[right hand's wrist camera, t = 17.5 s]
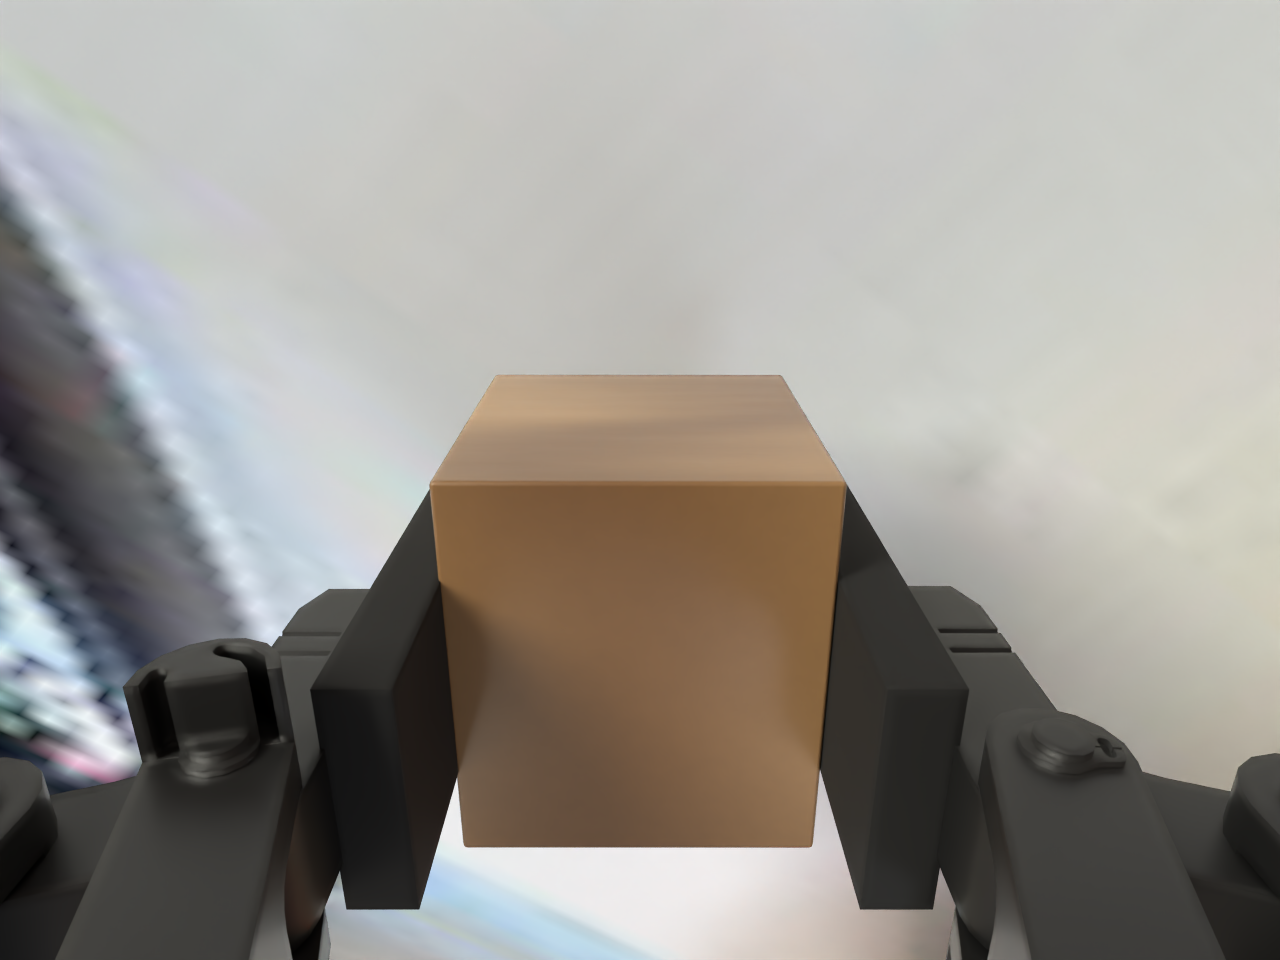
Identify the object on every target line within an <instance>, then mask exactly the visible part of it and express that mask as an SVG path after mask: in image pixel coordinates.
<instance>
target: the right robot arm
mask: <svg viewBox="0 0 1280 960" xmlns="http://www.w3.org/2000/svg"><path fill="white" fill-rule="evenodd" d="M282 633H283V634H282V636H279V637H278V639H277V640H276V641H275V643H274V644H273V646H272V647H271V646H269V645H268V644H267V643H263V642H259V641H255V640H251V639H246V638H238V639H216V640H211V641H206V642H201V643H196V644H191V645H188V646H185V647H183V648H180V649H177V650H175V651H172V652H170V653H167V654H164V655H162V656H160V657H158V658H157V659H155V660H153V661H152V662H150V663H149V664H147V665H145V666H144V667H142V668H141V669H139V670H137V672H136V673H135V674H134V675H133V676H132V677H131V678H130V680H129V681H128V682H127V683H126V684H125V685H124V686H123V690H124V694H125V697H126V701H127V705H128V709H129V713H130V717H131V720H132V724H133V728H134V732H135V736H136V740H137V743H138V747H139V751H140V755H141V759H142V765H141V767H140V769H139V772H138V774H137V776H134V777H131V778H127V779H123V780H120V781H116V782H111V783H107V784H102V785H97V786H92V787H88V788H83V789H78V790H73V791H68V792H64V793H59V794H54V795H49V792H48V789H47V786H46V783H45V779H44V776H43V773H42V771H41V770H39V769H38V768H37V767H36V766H35V765H33V764H32V763H31V762H30V761H26V760H20V759H13V758H7V757H3V758H0V960H329V955H330V946H331V943H330V936H329V929H328V923H327V917H326V912H325V905H326V903H327V901H328V898H329V896H330V893H331V891H332V888H333V886H334V883H335V881H336V879H337V876H338V874H339V871H340V873H341V879H342V885H343V891H344V897H345V903H346V909H419V908H420V905H421V901H422V898H423V894H424V891H425V887H426V884H427V880H428V877H429V873H430V870H431V866H432V863H433V859H434V856H435V852H436V849H437V845H438V842H439V838H440V835H441V831H442V828H443V824H444V821H445V817H446V814H447V810H448V807H449V803H450V800H451V796H452V793H453V789H454V786H455V782H456V779H457V775H458V763H457V753H456V742H455V732H454V721H453V711H452V700H451V690H450V679H449V669H448V658H447V648H446V637H445V627H444V616H443V606H442V595H441V585H440V581H439V580H438V569H437V559H436V548H435V538H434V527H433V517H432V506H431V496H430V490H429V491H428V493H427V495H426V496H425V498H424V500H423V501H422V503H421V505H420V506H419V508H418V510H417V511H416V513H415V515H414V516H413V518H412V520H411V521H410V523H409V525H408V526H407V528H406V530H405V531H404V533H403V535H402V536H401V538H400V540H399V541H398V543H397V545H396V546H395V548H394V550H393V551H392V553H391V555H390V556H389V558H388V560H387V561H386V563H385V565H384V566H383V568H382V570H381V571H380V573H379V575H378V576H377V578H376V580H375V581H374V583H373V585H372V586H371V588H370V589H328V590H327V591H325V592H324V593H322V594H321V595H319V596H318V597H316V598H315V599H313V600H312V601H310V602H309V603H307V604H306V605H304V606H303V607H301V608H300V609H299V610H298V611H297V612H296V614H295V615H294V617H293V618H292V619H291V621H290V622H289V623H288V625H287V626H286V628H285V629H284V630H283V632H282ZM820 770H821V774H822V777H823V781H824V784H825V788H826V791H827V795H828V798H829V802H830V805H831V809H832V812H833V816H834V819H835V823H836V826H837V830H838V833H839V837H840V840H841V844H842V847H843V851H844V854H845V858H846V861H847V865H848V868H849V872H850V875H851V879H852V882H853V886H854V889H855V893H856V896H857V900H858V903H859V907H860V909H933V906H934V900H935V894H936V887H937V881H938V875H939V869H940V868H941V871H942V873H943V876H944V878H945V881H946V883H947V885H948V888H949V890H950V893H951V895H952V898H953V900H954V902H955V905H956V906H955V912H954V917H953V923H952V928H951V934H950V940H949V945H948V951H947V956H946V960H1280V754H1277V753H1274V754H1267V755H1261V756H1255V757H1251V758H1250V759H1248V760H1247V761H1246V762H1245V763H1243V764H1242V765H1241V766H1240V767H1239V768H1238V770H1237V774H1236V777H1235V780H1234V783H1233V786H1232V790H1231V792H1230V791H1225V790H1220V789H1215V788H1210V787H1206V786H1201V785H1196V784H1191V783H1186V782H1182V781H1177V780H1172V779H1167V778H1163V777H1159V776H1156V775H1152V774H1148V773H1145V772H1142V770H1141V768H1140V766H1139V763H1138V761H1137V760H1136V759H1135V757H1134V756H1133V755H1132V753H1131V752H1130V751H1129V749H1128V748H1127V747H1126V745H1125V744H1124V743H1123V742H1122V741H1120V740H1119V739H1117V738H1116V737H1115V736H1113V735H1112V734H1111V733H1109V732H1108V731H1106V730H1105V729H1104V728H1102V727H1100V726H1098V725H1096V724H1093V723H1091V722H1089V721H1087V720H1084V719H1082V718H1080V717H1078V716H1075V715H1072V714H1067V713H1063V712H1059V711H1057V710H1056V708H1055V707H1054V706H1053V704H1052V703H1051V702H1050V700H1049V699H1048V698H1047V696H1046V695H1045V693H1044V692H1043V691H1042V689H1041V688H1040V687H1039V685H1038V684H1037V682H1036V681H1035V680H1034V678H1033V677H1032V676H1031V674H1030V673H1029V671H1028V670H1027V669H1026V667H1025V666H1024V665H1023V663H1022V662H1021V660H1020V659H1019V658H1018V656H1017V655H1016V654H1015V653H1012V652H1011V647H1010V645H1009V644H1008V643H1007V641H1006V640H1005V639H1004V637H1003V636H1002V634H1001V633H998V632H997V628H996V626H995V625H994V623H993V622H992V621H991V619H990V618H989V617H988V615H987V614H986V612H985V611H984V610H983V608H982V607H981V606H980V605H979V604H977V603H975V602H974V601H972V600H971V599H969V598H968V597H966V596H965V595H963V594H962V593H960V592H959V591H957V590H956V589H954V588H953V587H951V586H907V584H906V583H905V581H904V579H903V578H902V576H901V574H900V573H899V571H898V569H897V568H896V566H895V564H894V563H893V561H892V559H891V557H890V556H889V554H888V552H887V551H886V549H885V547H884V546H883V544H882V542H881V541H880V539H879V537H878V536H877V534H876V532H875V531H874V529H873V527H872V526H871V524H870V522H869V521H868V519H867V517H866V516H865V514H864V512H863V511H862V509H861V507H860V506H859V504H858V502H857V501H856V499H855V497H854V496H853V494H852V492H851V491H850V489H849V487H848V486H847V488H846V499H845V509H844V520H843V530H842V541H841V551H840V562H839V572H838V583H837V593H836V604H835V614H834V625H833V636H832V646H831V657H830V667H829V678H828V688H827V699H826V709H825V720H824V730H823V741H822V751H821V762H820Z"/></svg>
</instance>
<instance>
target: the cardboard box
mask: <svg viewBox="0 0 1280 960" xmlns="http://www.w3.org/2000/svg"><path fill="white" fill-rule="evenodd" d="M846 488H847V484H846V482H845V480H844V478H843V477H842V475H841V473H840V472H839V470H838V468H837V467H836V465H835V464H834V462H833V460H832V459H831V457H830V455H829V454H828V452H827V450H826V449H825V447H824V445H823V444H822V442H821V440H820V439H819V437H818V435H817V434H816V432H815V430H814V429H813V427H812V425H811V424H810V422H809V420H808V419H807V417H806V415H805V414H804V412H803V410H802V409H801V407H800V405H799V404H798V402H797V400H796V399H795V397H794V395H793V394H792V392H791V390H790V389H789V387H788V386H787V384H786V382H785V381H784V379H783V377H782V376H780V375H497V376H495V378H494V379H493V381H492V382H491V384H490V386H489V387H488V389H487V391H486V392H485V394H484V395H483V397H482V399H481V400H480V402H479V404H478V405H477V407H476V409H475V410H474V412H473V413H472V415H471V417H470V418H469V420H468V422H467V423H466V425H465V426H464V428H463V430H462V431H461V433H460V435H459V436H458V438H457V440H456V441H455V443H454V444H453V446H452V448H451V449H450V451H449V453H448V454H447V456H446V457H445V459H444V461H443V462H442V464H441V466H440V467H439V469H438V470H437V472H436V474H435V475H434V477H433V479H432V480H431V482H430V496H431V506H432V517H433V527H434V538H435V548H436V559H437V569H438V580H439V581H440V585H441V595H442V606H443V616H444V627H445V637H446V648H447V658H448V669H449V679H450V690H451V700H452V711H453V721H454V732H455V742H456V753H457V763H458V775H457V780H458V790H459V801H460V811H461V822H462V832H463V843H464V846H465V847H811V846H812V844H813V836H814V825H815V815H816V804H817V794H818V783H819V772H820V762H821V751H822V741H823V730H824V720H825V709H826V699H827V688H828V678H829V667H830V657H831V646H832V636H833V625H834V614H835V604H836V593H837V583H838V572H839V562H840V551H841V541H842V530H843V520H844V509H845V499H846Z"/></svg>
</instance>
